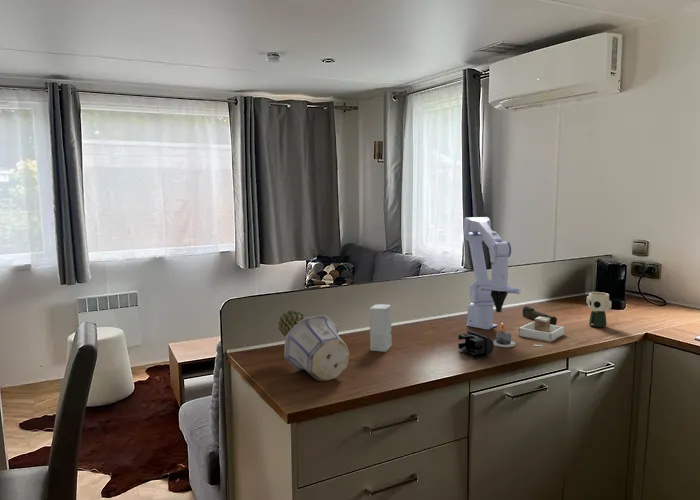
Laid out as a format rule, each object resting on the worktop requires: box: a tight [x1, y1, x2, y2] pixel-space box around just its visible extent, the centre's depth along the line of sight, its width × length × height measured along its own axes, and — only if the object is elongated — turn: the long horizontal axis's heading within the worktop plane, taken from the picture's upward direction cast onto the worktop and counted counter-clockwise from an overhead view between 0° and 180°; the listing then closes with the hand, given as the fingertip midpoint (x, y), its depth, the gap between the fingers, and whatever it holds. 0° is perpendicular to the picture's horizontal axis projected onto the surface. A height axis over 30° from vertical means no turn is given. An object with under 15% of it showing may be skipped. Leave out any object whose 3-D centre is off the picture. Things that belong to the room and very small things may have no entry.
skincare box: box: [369, 303, 393, 353], centre depth 183 cm, size 8×6×15 cm
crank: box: [495, 321, 512, 344], centre depth 190 cm, size 13×5×5 cm, turn 168°
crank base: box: [492, 339, 544, 349], centre depth 186 cm, size 17×8×1 cm, turn 78°
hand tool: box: [522, 305, 558, 326], centre depth 219 cm, size 19×4×5 cm, turn 17°
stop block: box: [534, 316, 550, 333], centre depth 196 cm, size 4×4×6 cm
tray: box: [518, 321, 565, 342], centre depth 197 cm, size 12×12×3 cm
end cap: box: [457, 330, 495, 360], centre depth 176 cm, size 10×7×7 cm
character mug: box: [586, 291, 612, 328], centre depth 207 cm, size 11×7×13 cm, turn 26°
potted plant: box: [277, 309, 350, 382], centre depth 164 cm, size 18×18×30 cm
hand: (498, 311), depth 195 cm, fingers closed
